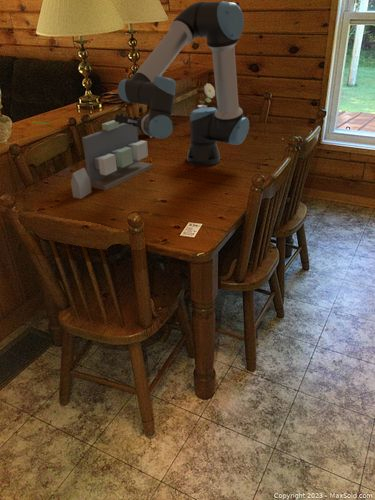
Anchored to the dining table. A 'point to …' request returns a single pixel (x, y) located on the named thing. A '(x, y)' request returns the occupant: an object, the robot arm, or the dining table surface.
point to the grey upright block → (80, 184)
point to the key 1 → (105, 164)
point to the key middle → (123, 156)
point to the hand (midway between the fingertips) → (136, 121)
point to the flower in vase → (207, 94)
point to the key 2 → (139, 149)
